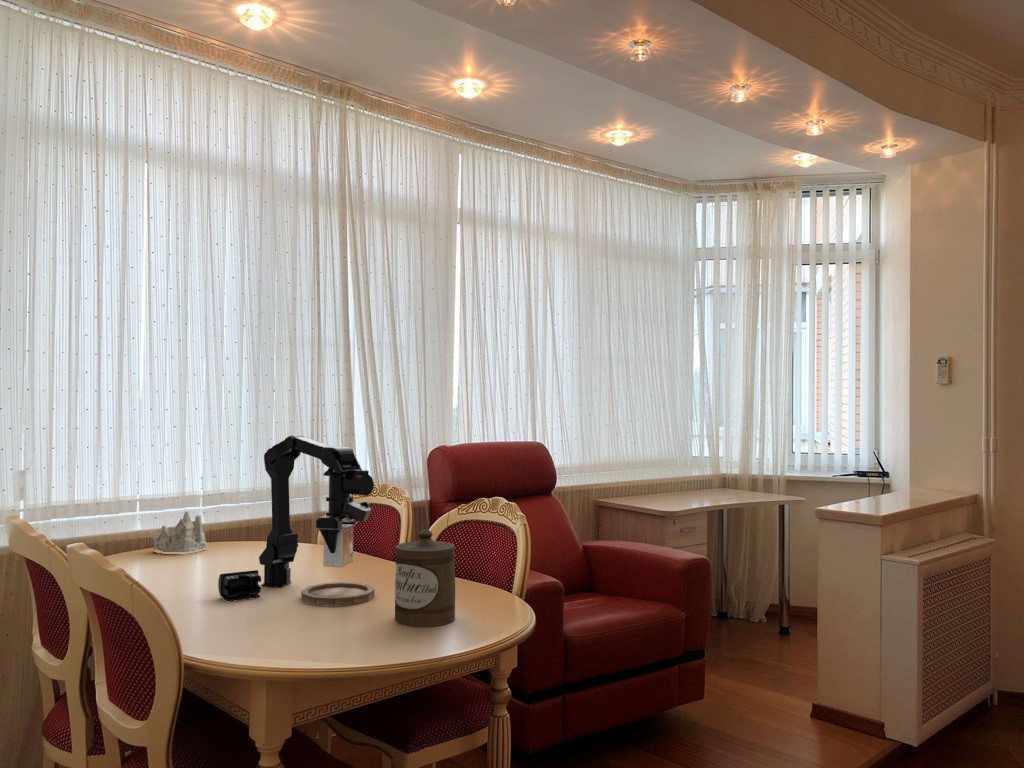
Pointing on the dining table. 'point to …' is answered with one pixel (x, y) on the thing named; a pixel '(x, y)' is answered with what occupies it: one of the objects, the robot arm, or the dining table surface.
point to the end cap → (239, 585)
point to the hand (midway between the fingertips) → (338, 550)
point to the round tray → (337, 593)
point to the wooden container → (425, 582)
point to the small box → (340, 549)
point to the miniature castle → (181, 536)
